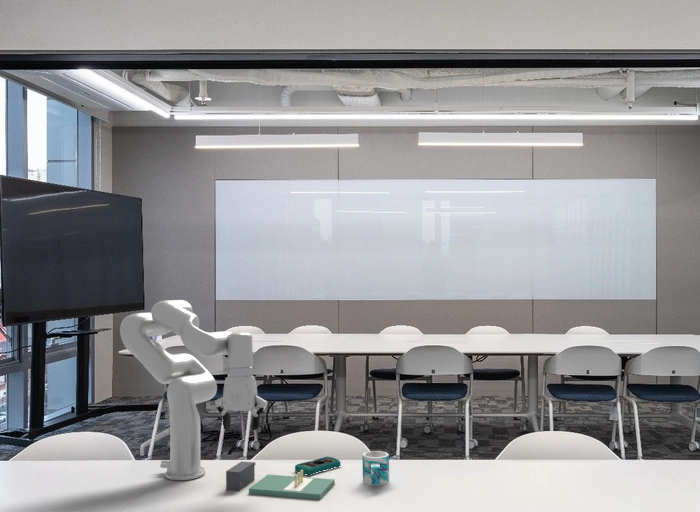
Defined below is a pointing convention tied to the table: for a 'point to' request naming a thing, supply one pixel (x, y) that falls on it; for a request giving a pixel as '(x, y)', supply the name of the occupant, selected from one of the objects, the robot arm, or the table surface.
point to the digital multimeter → (317, 465)
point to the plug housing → (240, 476)
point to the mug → (375, 467)
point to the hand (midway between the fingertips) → (241, 428)
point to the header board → (292, 486)
